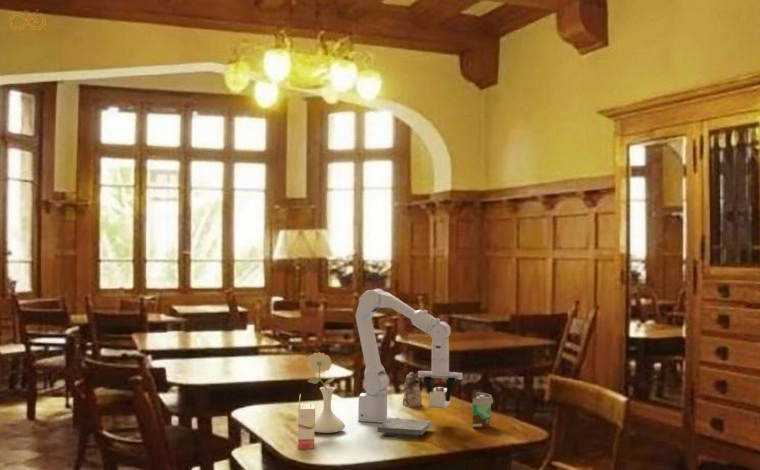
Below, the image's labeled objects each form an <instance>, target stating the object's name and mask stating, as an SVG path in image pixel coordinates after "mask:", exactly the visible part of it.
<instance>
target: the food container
mask: <svg viewBox="0 0 760 470" xmlns="http://www.w3.org/2000/svg"><path fill="white" fill-rule="evenodd" d="M492 404H494V399H493V397H492V395H491V394H490V393H486V392H477V391H476V392H475V396H474V398H472V429H473V428H484V429H487V427H488V428H490V425H491V424H490V422H491V411H492V410H491V409H492V408H491V407H492Z"/></svg>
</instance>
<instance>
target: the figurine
mask: <svg viewBox="0 0 760 470" xmlns="http://www.w3.org/2000/svg"><path fill="white" fill-rule="evenodd" d="M418 372H419V371H417V372H416V373H414V372H413V371H412V372H409V373H408V374H407V375H406V377H405V380H404V382H403V383H404V384H403V386H404V392H403V393H404V394H403V398H402V399H403V400H402V406H404V407H409V406H415V407H421V406H422V402H423V400H422V392H421V389H420V384H421V380H420V378H419V377H418ZM416 382H418V383H416Z"/></svg>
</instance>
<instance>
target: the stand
mask: <svg viewBox="0 0 760 470" xmlns="http://www.w3.org/2000/svg"><path fill="white" fill-rule="evenodd" d="M397 418H398V417H391V418H389V419H388V420H386V421H385V422H384V423H380V425H378V426H377V432H378V433H385V434H384V435H385V436H386V437H395V436H397V438H408V439H409V438H411V439H417V438H418V437H420V436H422V435H423V434H425V433H426V431H428V429H430V427H432V425H433V424H432V423H433V422H432V420H427V419H426V420H425V419H423V420H422V419H412V418H411V419H409V418H400V419H397Z"/></svg>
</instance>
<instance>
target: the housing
mask: <svg viewBox="0 0 760 470" xmlns="http://www.w3.org/2000/svg"><path fill="white" fill-rule="evenodd" d="M428 396H429V405H428V408H429V409H430V408H431V409H446V408H447V407H448V406H449V405H450V404H451V400H450V401H447V387H443V386H436V387H433V390H432V391H430V392H429V393H428Z"/></svg>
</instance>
